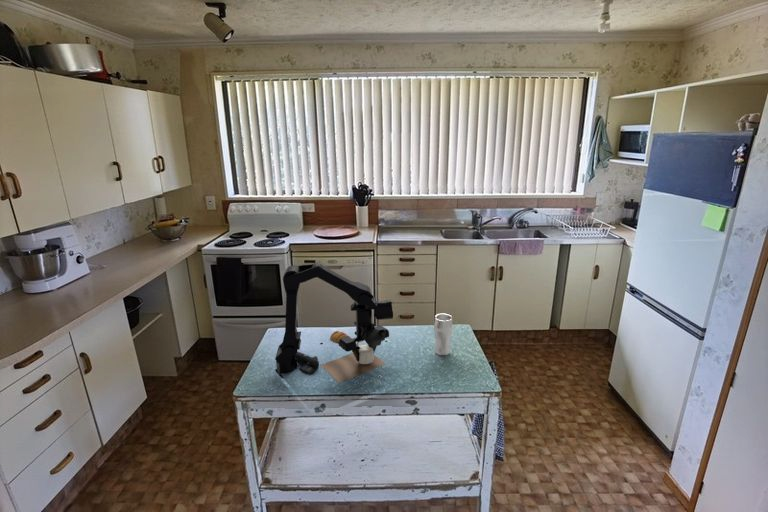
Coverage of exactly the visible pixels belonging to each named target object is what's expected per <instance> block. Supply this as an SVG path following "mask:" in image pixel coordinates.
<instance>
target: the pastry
mask: <svg viewBox="0 0 768 512" xmlns="http://www.w3.org/2000/svg"><path fill="white" fill-rule="evenodd" d="M347 336H349V335H348V334H347V333H345V332H344V331H340V330H336V331H333V333H332V334H331V335H330V337H329V340H331V342H334V343H337V344H339V340H340V339H341V338H344V337H347Z"/></svg>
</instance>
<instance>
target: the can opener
mask: <svg viewBox="0 0 768 512" xmlns="http://www.w3.org/2000/svg"><path fill="white" fill-rule="evenodd" d="M295 357H296V358H297V363H299V364H300V365H301V366H299V368H298V369H299V371H301V372H302V373H304V374H307V375H313V374H315V372H316V370H318V369H319V368H320V367H319V366H320V362H319V359H318V356H315V355H314V356H310V355H308V354H305V353H302V352H300V351H297V354H296V355H295Z"/></svg>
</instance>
